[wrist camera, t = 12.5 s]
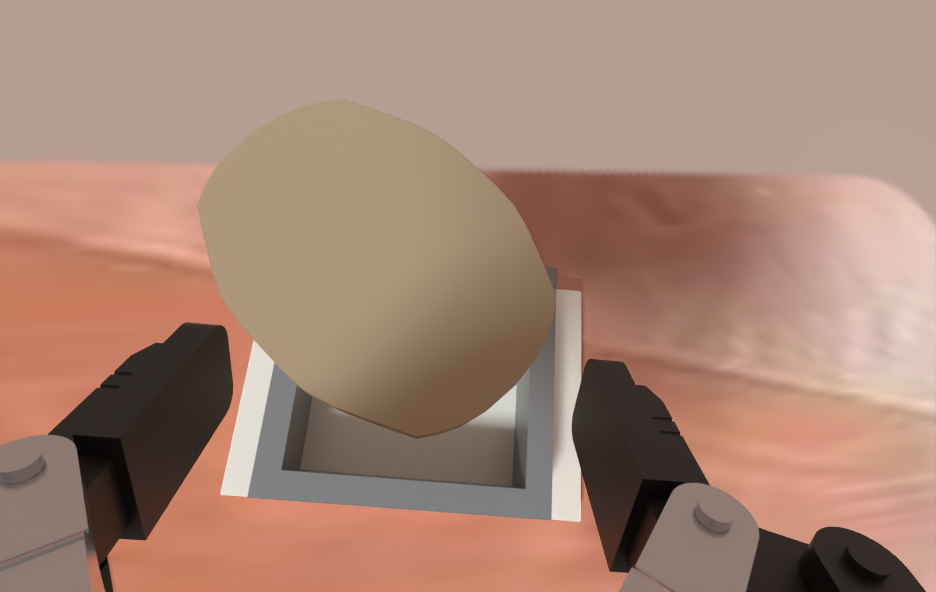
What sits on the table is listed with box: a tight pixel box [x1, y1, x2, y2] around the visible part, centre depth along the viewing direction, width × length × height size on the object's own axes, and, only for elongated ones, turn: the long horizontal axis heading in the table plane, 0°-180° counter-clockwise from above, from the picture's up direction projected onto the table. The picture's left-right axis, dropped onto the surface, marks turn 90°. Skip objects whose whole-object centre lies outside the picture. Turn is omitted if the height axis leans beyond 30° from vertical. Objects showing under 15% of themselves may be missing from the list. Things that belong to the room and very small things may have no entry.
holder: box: [220, 268, 581, 522], centre depth 22 cm, size 15×10×4 cm
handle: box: [197, 100, 556, 439], centre depth 16 cm, size 5×6×15 cm
